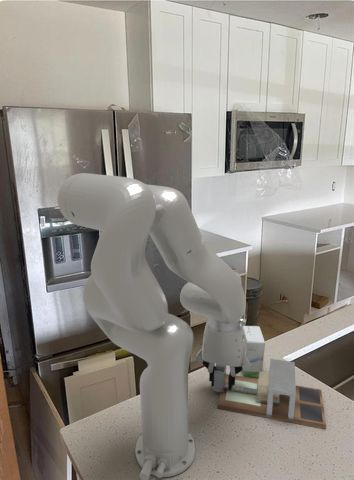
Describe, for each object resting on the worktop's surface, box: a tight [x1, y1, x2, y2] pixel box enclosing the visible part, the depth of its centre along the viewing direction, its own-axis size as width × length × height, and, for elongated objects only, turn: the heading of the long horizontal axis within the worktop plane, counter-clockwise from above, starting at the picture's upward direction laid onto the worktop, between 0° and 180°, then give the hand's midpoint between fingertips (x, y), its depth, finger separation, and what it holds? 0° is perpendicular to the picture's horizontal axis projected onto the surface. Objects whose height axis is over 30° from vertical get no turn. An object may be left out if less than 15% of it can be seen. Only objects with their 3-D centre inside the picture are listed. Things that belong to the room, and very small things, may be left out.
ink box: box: [241, 325, 266, 379], centre depth 101 cm, size 9×5×12 cm, turn 179°
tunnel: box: [266, 358, 297, 423], centre depth 90 cm, size 12×6×8 cm, turn 164°
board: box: [217, 373, 327, 430], centre depth 91 cm, size 12×24×1 cm, turn 74°
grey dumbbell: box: [213, 364, 280, 405], centre depth 92 cm, size 6×16×6 cm, turn 74°
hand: (222, 384), depth 94 cm, fingers closed on grey dumbbell, 3 cm apart
